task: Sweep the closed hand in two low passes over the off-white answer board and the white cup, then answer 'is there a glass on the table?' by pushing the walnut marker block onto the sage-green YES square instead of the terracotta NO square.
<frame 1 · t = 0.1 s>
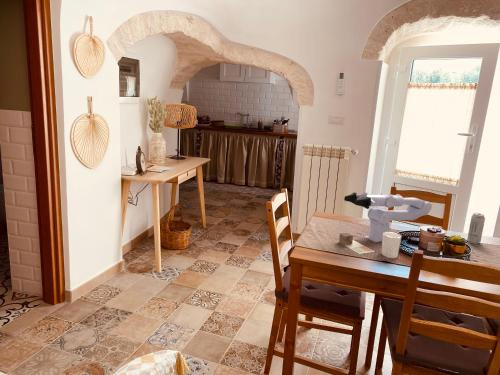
hand: (349, 200, 181), 22 cm above the table, tool horizontal, fingers open, 7 cm apart
energy drink can: (473, 242, 197), on the table
white cup: (389, 255, 173), on the table
answer board: (355, 247, 181), on the table
marker block: (345, 243, 185), resting on answer board
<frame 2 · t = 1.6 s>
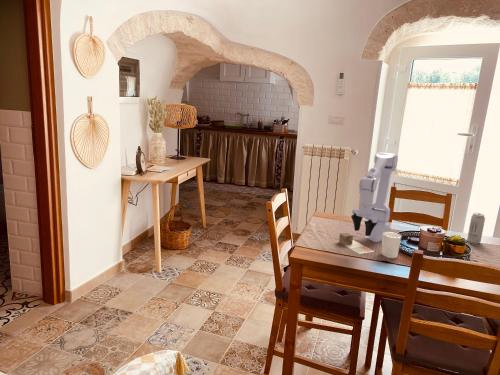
hand: (362, 233, 173), 9 cm above the table, tool pointing down, fingers open, 7 cm apart
nothing on the table moved.
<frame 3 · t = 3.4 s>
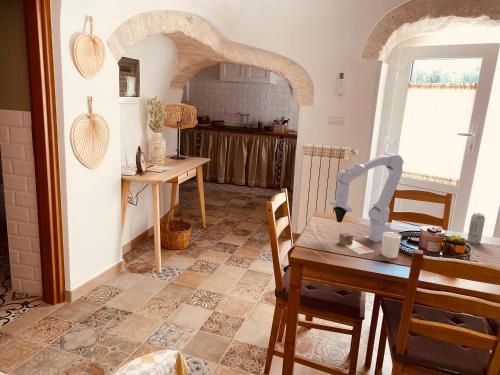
hand: (339, 221, 188), 9 cm above the table, tool pointing down, fingers closed
nothing on the table moved.
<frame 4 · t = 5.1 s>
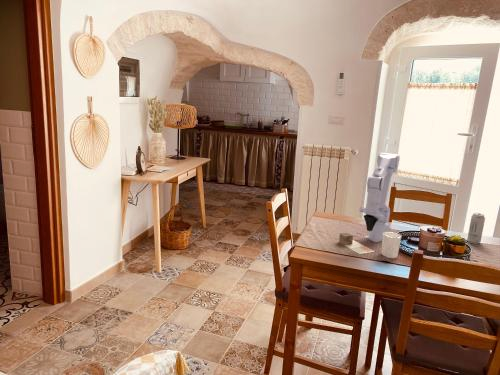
hand: (369, 230, 177), 9 cm above the table, tool pointing down, fingers closed
nothing on the table moved.
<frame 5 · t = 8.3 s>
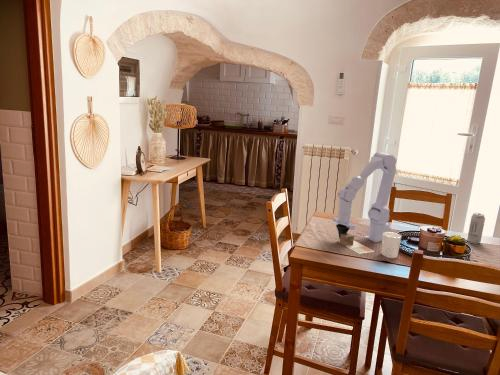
hand: (341, 239, 187), 1 cm above the table, tool pointing down, fingers closed
marker block: (346, 243, 184), resting on answer board, touching gripper
everything else where it was.
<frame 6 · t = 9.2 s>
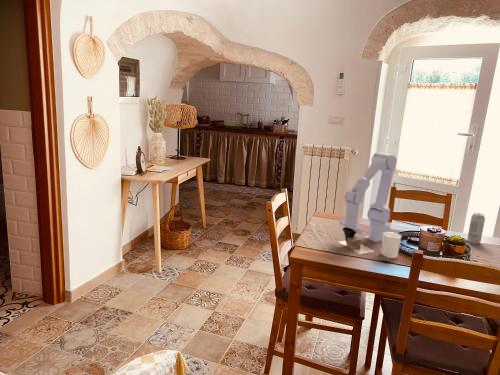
hand: (348, 242, 183), 1 cm above the table, tool pointing down, fingers closed
marker block: (353, 247, 180), resting on answer board, touching gripper
everything else where it was.
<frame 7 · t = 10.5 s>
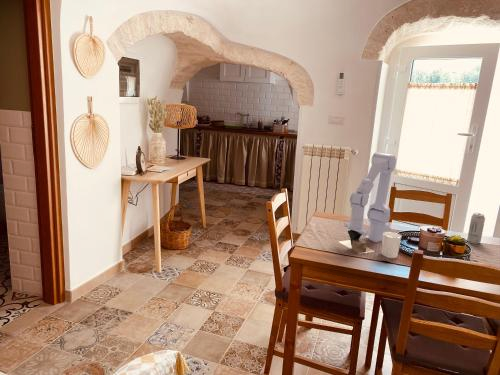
hand: (353, 245, 179), 1 cm above the table, tool pointing down, fingers closed
marker block: (358, 250, 176), resting on answer board, touching gripper
everything else where it was.
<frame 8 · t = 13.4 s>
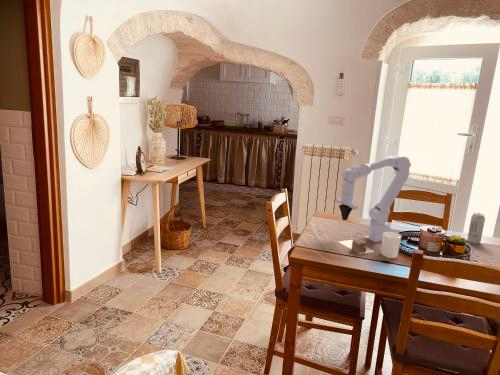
hand: (344, 219, 190), 10 cm above the table, tool pointing down, fingers closed
marker block: (358, 250, 176), resting on answer board
everything else where it was.
at the end: marker block 0.7 cm from the target spot, resting on answer board; marker block tilted 0°; white cup moved 0.2 cm from its start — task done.
